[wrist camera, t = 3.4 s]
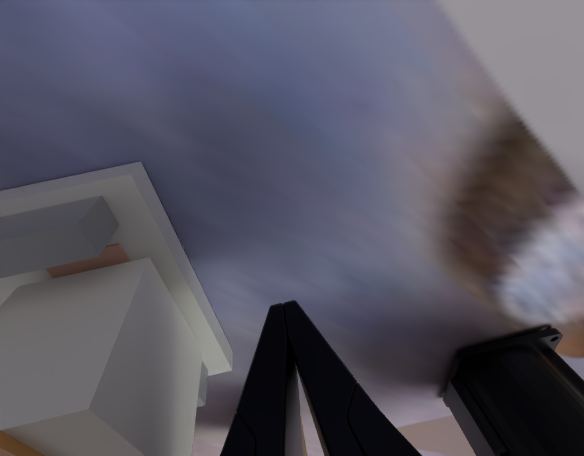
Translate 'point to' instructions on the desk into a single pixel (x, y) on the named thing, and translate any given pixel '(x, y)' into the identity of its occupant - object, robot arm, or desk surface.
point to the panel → (104, 244)
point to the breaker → (97, 367)
